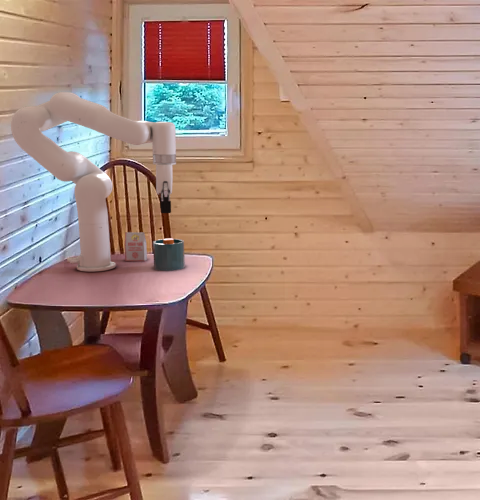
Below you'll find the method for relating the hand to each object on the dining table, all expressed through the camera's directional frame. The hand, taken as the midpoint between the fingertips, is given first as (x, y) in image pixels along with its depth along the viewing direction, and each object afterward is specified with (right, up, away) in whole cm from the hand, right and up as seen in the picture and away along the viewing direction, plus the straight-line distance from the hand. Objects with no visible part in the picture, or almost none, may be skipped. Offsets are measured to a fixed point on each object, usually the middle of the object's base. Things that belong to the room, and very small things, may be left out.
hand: (165, 210), depth 257 cm
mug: (0, -19, +6) cm, 20 cm away
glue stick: (0, -18, +4) cm, 19 cm away
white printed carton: (-14, -17, +15) cm, 27 cm away
